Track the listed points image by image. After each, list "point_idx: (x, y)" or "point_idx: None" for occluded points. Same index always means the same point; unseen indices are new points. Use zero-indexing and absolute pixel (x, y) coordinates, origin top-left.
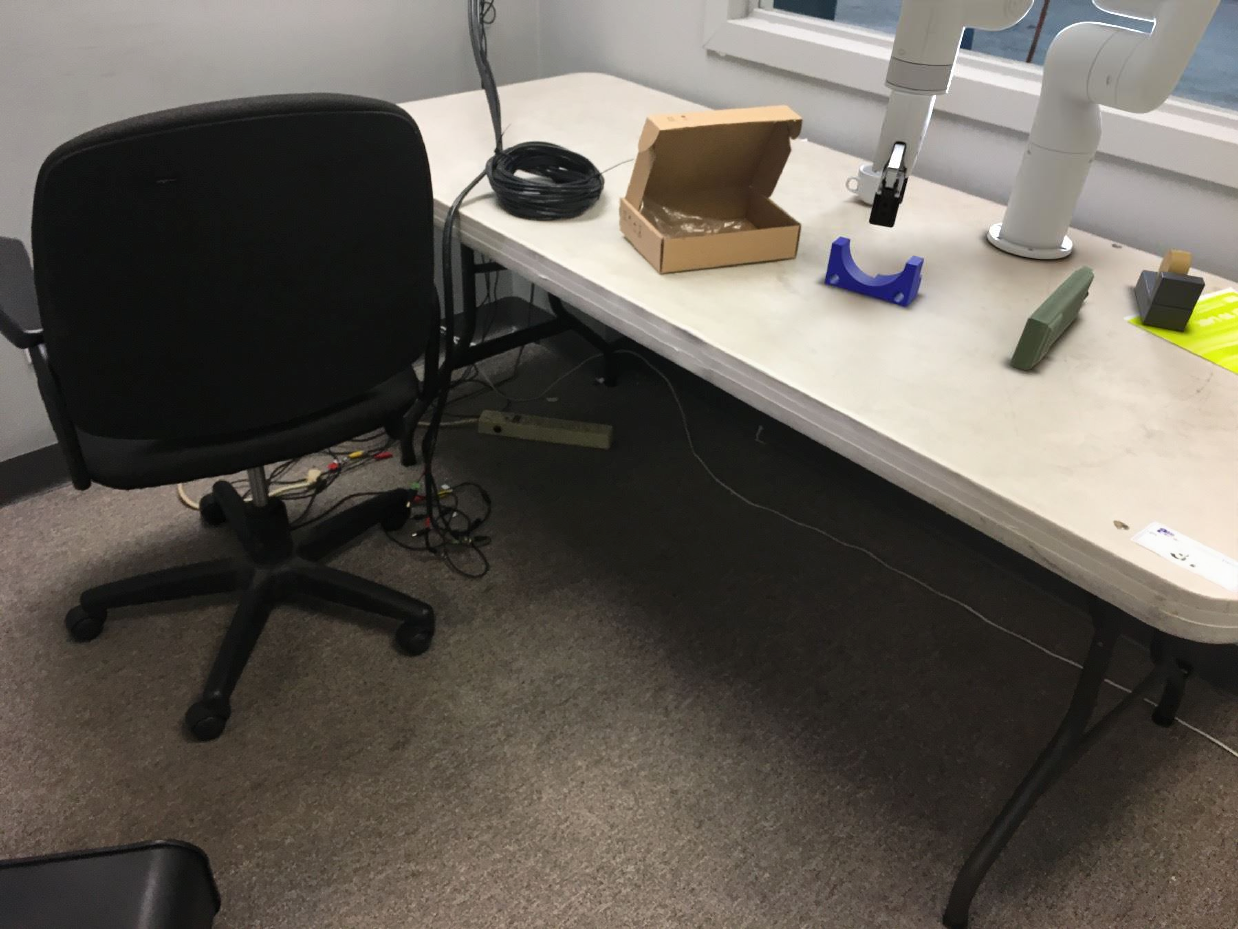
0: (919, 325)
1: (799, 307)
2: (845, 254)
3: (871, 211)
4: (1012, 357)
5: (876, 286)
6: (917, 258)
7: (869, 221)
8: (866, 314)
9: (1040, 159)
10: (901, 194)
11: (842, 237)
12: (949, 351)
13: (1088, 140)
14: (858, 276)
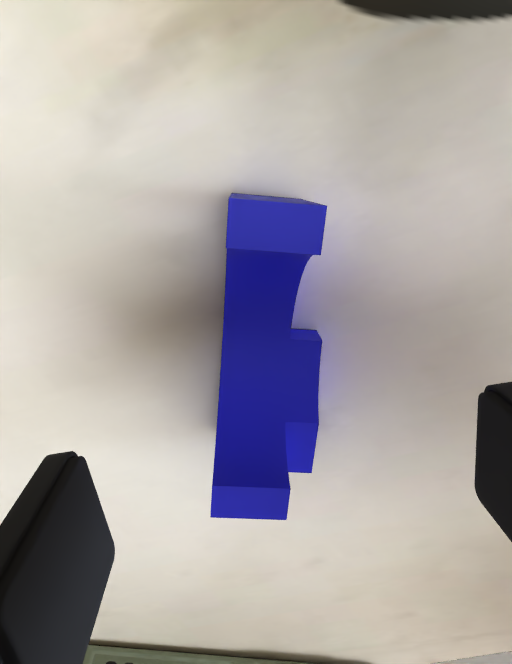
0: (137, 479)
1: (13, 183)
2: (262, 252)
3: (21, 500)
4: (85, 655)
5: (221, 364)
6: (271, 504)
7: (46, 460)
8: (108, 363)
9: None
10: (506, 527)
11: (319, 218)
12: None
13: None
14: (251, 301)
